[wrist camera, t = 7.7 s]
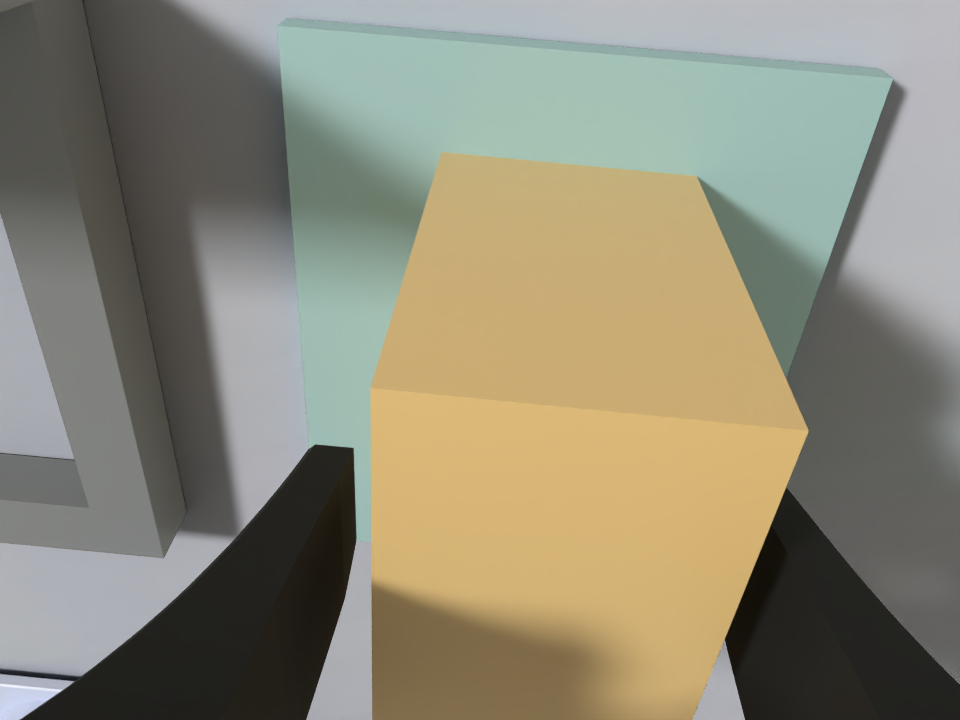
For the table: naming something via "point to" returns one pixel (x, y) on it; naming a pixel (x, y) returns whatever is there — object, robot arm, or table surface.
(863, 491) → the table surface
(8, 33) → the grey angular piece
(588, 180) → the orange rectangular block
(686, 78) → the teal pad
